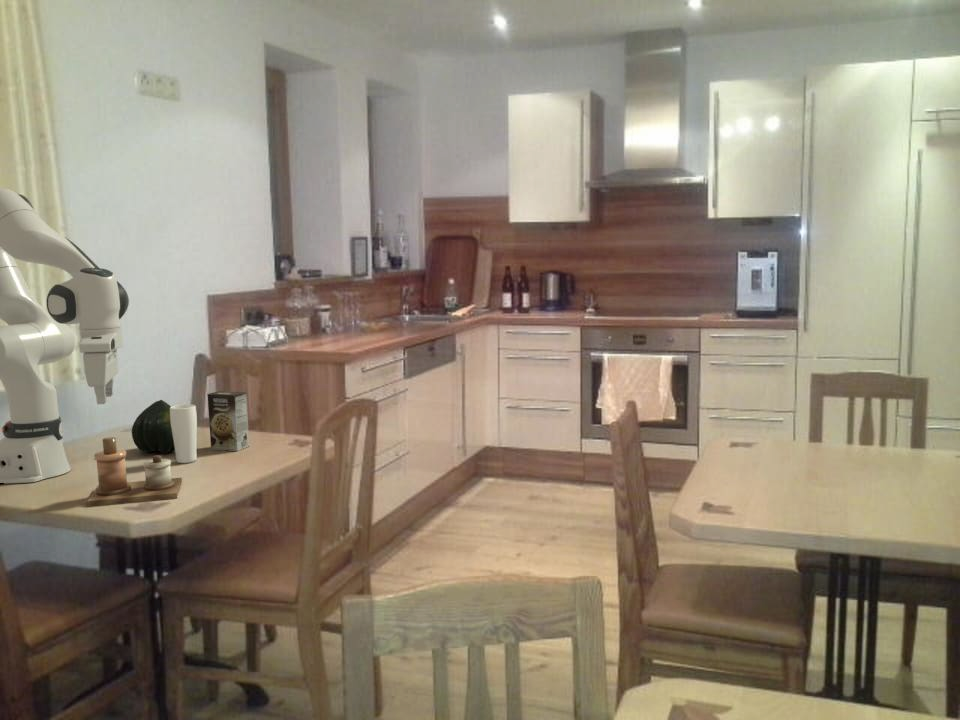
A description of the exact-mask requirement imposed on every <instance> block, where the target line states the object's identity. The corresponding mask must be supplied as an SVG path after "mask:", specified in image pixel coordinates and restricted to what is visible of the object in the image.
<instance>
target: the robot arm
mask: <svg viewBox="0 0 960 720" xmlns="http://www.w3.org/2000/svg"><path fill="white" fill-rule="evenodd" d="M16 260H18V261H21V262H25V263H31V264H40V265H45V266H50V267H54V268H57V269H60V270H63V271H64V272H66V273H67V274H69V275H70V277H72V278H71V279H69V280H65V281H64V282H61V283H58V284H54V285H53V286H52V287H51V288H50V289H49V291H48V293H47V296H46V309H47V310H45V309H44V307H43V306H42V305H41V304H40V303H39V302H38V300H36V298H35V297H34V295H33V294H32V292H31V290H30V288H29V287H28V284H27V283H26V279H25V278H24V276H23V274H22V271H21V269H20V268H19V265H18V262H17V261H16ZM129 302H130V299H129V294H128V293H127V291H126V289H125V288H124V287H123V285H122V284H121V283H120V282H119V281H118V280H117V278H116V275H115V273H114V272H112V271H111V270H109V269H106V268H101V267H99V266H98V265H97V264H96V263H95V262H94V261H93V260H92V259H91V258H90V256H88V255H87V254H86V253H85V252H84V251H83V250H82V249H80V247H79V246H78V245H76V244H75V243H74V242H73V241H71V240H70V239H69V238H66V237H65V236H63V235H62V234H61V233H59V232H57V231H56V230H55V229H53V228H52V227H51V226H49V224H48V223H46V222H45V221H44V220H43V218H41V217H40V216H39V214H38V213H37V212H36V211H35V209H34V207H33V204H32V203H31V201H30V200H29V199H28V198H27V197H26V196H25V195H23V194H19V193H17V192H15V191H14V190H12V189H9V188H6V187H0V320H1V321H3V322H4V323H6V324H7V325H2V326H1V325H0V381H1V383H2V384H3V387H4V389H5V392H6V395H7V402H8V410H9V415H10V420H8V421H6V422H5V423H4V425H3V426H2V428H1V433H3V438H2V439H0V483H4V484H22V483H24V484H25V483H35V482H38V481H42V480H44V479H49V478H54V477H58V476H61V475H63V474H66V473H68V472H70V471H71V470H72V468H71V465H70V463H69V460H68V458H67V455H66V451H65V448H64V447H65V446H64V442H63V436H64V429H63V423H62V418H61V416H60V414H59V412H60V411H59V404H58V403H59V402H58V394H57V393H58V391H57V389H56V387H55V386H54V384H52V383H50V382H49V381H46V380H44V379H43V377H42V376H41V374H40V372H39V369H38V366H41V365H47V364H52V363H56V362H58V361H61V360H62V359H66V358H67V357H69V356H70V355H72V354H73V352H74V350H75V346H76V337H75V334H74V332H73V329H72V328H71V327H70V326H69V325H75V324H76V325H77V324H78V325H79V326H78V332H79V333H78V335H79V346H78V347H79V353H81V354H82V359H83V367H84V373H85V379H86V383H87V385H88V387H90V388H93V391H94V393H95V397H96V398H95V399H96V404H97V405H105V404H106V402H107V398H109V397H110V398H111V397H112V396H113V395H114V392H113V391H114V378H115V376H116V375H117V374H118V373H119V361H118V351H117V350H118V349H119V348H122V347H123V331H122V322H121V319H122V317H124V315H125V314H126V312H127V310H128V307H129V305H130V304H129Z"/></svg>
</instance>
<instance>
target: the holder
mask: <svg viewBox="0 0 960 720" xmlns="http://www.w3.org/2000/svg"><path fill="white" fill-rule="evenodd" d="M142 465H143V468H144V475H145V476H144V477H145V480H139V481H130V482H129V481H128V480H127V478H128V477H127V468H126V457H124V458H122V459H118V460H112V461H97V460H96V467H97V479H98V480H97V481H98V485H97V486H96V487H95V489H94V490H93V492H92V493H91V495H90V496H89V497H88V499H87V501H86V504H87V507H96V506H97V507H98V506H106V505H105V504H109V505H116V504H115V503H119V504H125V503H124V502H130V503H136V502H135V501H141V502H148V501H147V500H151V501H158V500H157V499H162V500H169V499H168V498H173V499H177V498H178V497H179V494H178V493H180V490H181V487H182V484H183V478H182V477H174V478H173V477H172V473H171V472H172V471H171V465H172V461H171V459H169V458H162V456H161V454H160V455H159V454H158V455H153V456H152V459H151V460H147V461H145V462H143V463H142ZM181 483H182V484H181ZM180 486H181V487H180ZM177 496H178V497H177ZM176 497H177V498H176Z"/></svg>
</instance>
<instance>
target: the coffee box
mask: <svg viewBox="0 0 960 720" xmlns="http://www.w3.org/2000/svg"><path fill="white" fill-rule="evenodd" d="M247 396H248V395H247V392H246V391H230V390H229V391H226V390H219V391H214V392H213V391H212V392H211V393H210V392H209V393H208V394H207V406H208V410H207V411H208V422H209V425H208V426H209V438H210V439H209V440H210V450H213V451H226V450H229V451H230V452H239V451H242V450H244V449H246V447H247V448H249V447H250V437H249V419H248V417H249V415H248V414H249V413H248V399H247V398H248V397H247ZM248 446H249V447H248ZM243 448H244V449H243ZM241 449H242V450H241ZM229 451H228V452H229Z"/></svg>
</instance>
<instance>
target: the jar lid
mask: <svg viewBox="0 0 960 720" xmlns="http://www.w3.org/2000/svg"><path fill="white" fill-rule="evenodd" d="M101 441H102V449H103V451H98V452H96V453H94V454H93V456H94V458H93V459H94V461H96V462H97V461H112V460H118V459H122V458H124V457H125V458H126V457H127V450H125V449H117V439H116V437H113V436H111V437H104V438H102V440H101Z"/></svg>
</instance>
